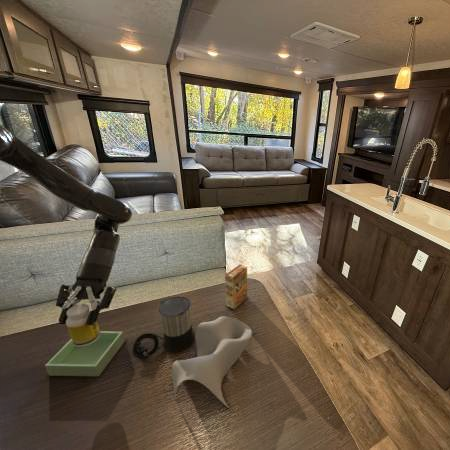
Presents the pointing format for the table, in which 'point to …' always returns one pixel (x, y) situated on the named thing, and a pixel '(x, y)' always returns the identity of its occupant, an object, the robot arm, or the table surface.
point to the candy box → (236, 286)
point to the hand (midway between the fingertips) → (76, 324)
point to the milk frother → (170, 327)
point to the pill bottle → (81, 326)
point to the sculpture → (213, 354)
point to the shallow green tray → (86, 356)
